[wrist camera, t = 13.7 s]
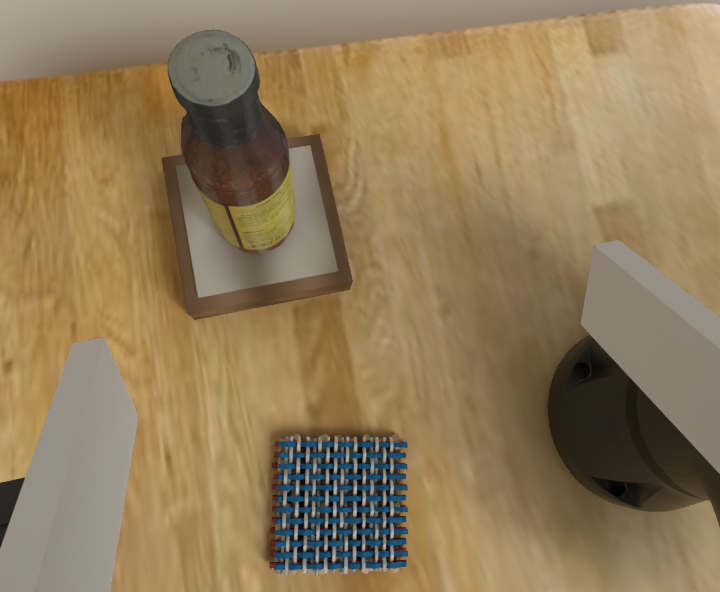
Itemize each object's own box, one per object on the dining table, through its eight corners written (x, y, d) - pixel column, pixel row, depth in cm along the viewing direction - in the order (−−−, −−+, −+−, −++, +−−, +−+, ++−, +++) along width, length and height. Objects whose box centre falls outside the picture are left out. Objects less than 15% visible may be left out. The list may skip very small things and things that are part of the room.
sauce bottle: (305, 197, 46) (312, 34, 26) (280, 267, 44) (269, 149, 25) (227, 172, 45) (178, -12, 26) (200, 242, 44) (126, 102, 25)
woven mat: (273, 432, 45) (272, 433, 43) (403, 433, 46) (408, 434, 44) (267, 573, 43) (266, 580, 41) (404, 570, 44) (409, 577, 42)
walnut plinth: (318, 150, 50) (319, 132, 47) (349, 289, 48) (353, 280, 45) (169, 173, 48) (160, 156, 45) (194, 319, 46) (186, 312, 43)
